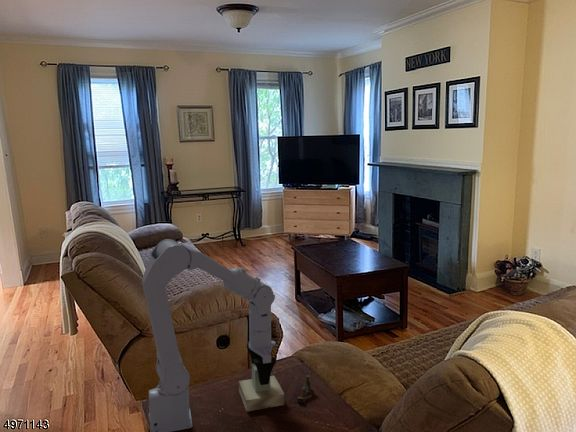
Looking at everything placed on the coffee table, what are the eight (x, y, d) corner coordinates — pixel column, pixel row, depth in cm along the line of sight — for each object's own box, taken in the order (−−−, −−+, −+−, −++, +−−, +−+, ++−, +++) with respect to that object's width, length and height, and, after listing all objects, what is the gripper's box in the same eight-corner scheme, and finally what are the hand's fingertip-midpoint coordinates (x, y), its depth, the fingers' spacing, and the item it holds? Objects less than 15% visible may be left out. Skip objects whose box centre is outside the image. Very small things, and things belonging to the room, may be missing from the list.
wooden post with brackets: (313, 384, 119) (311, 373, 116) (305, 409, 112) (303, 398, 110) (307, 383, 119) (305, 372, 117) (299, 408, 113) (296, 397, 111)
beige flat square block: (246, 411, 107) (246, 400, 107) (239, 391, 117) (238, 381, 116) (284, 404, 110) (284, 393, 110) (274, 385, 120) (274, 375, 119)
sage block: (255, 392, 111) (255, 370, 110) (251, 384, 114) (251, 363, 114) (270, 389, 112) (270, 368, 111) (266, 382, 116) (266, 361, 115)
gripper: (282, 336, 105) (283, 388, 107) (268, 316, 119) (268, 362, 121) (254, 340, 103) (255, 392, 105) (243, 319, 117) (244, 366, 119)
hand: (260, 376), depth 113 cm, fingers open, 7 cm apart
